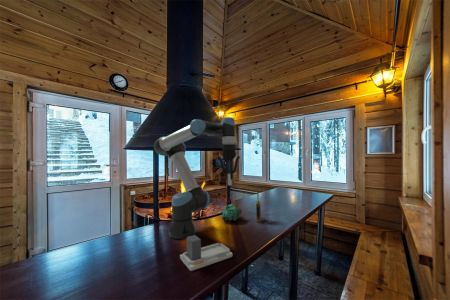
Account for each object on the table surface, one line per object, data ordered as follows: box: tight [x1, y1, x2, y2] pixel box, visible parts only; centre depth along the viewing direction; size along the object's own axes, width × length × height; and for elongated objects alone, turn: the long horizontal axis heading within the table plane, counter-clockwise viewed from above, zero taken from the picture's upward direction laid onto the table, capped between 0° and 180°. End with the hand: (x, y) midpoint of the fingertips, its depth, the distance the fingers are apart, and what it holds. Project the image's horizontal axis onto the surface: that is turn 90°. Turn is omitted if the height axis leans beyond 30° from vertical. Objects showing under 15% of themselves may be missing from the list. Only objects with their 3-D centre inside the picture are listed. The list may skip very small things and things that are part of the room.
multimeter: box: [255, 191, 270, 225], centre depth 136 cm, size 15×10×20 cm
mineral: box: [221, 203, 243, 222], centre depth 140 cm, size 18×16×10 cm
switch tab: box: [186, 234, 202, 261], centre depth 84 cm, size 4×6×8 cm, turn 32°
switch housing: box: [179, 242, 233, 272], centre depth 87 cm, size 20×12×2 cm, turn 122°
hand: (229, 185), depth 113 cm, fingers closed
